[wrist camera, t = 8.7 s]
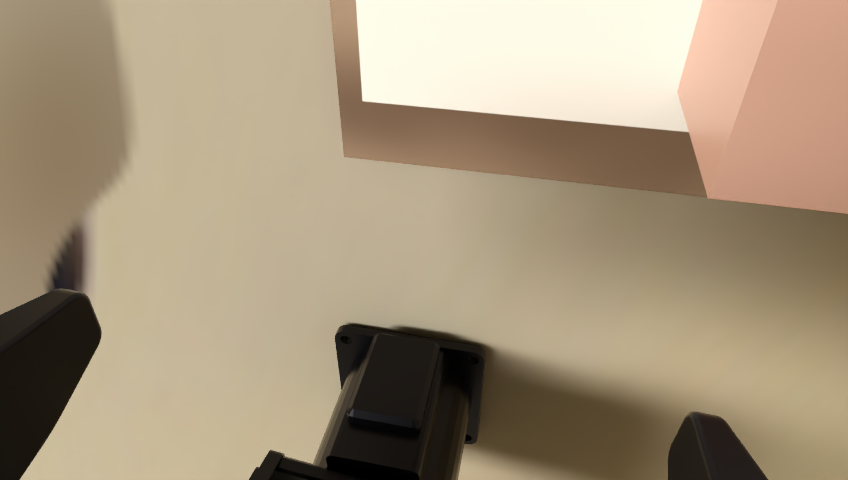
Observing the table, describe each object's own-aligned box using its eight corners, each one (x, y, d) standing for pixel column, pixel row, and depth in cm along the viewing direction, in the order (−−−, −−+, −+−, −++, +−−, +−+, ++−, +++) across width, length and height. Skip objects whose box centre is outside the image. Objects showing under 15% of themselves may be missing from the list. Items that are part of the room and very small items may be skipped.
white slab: (965, 144, 16) (1117, 295, 11) (370, 89, 18) (300, 194, 14) (1140, -136, 12) (1480, -78, 7) (356, -155, 14) (252, -121, 10)
